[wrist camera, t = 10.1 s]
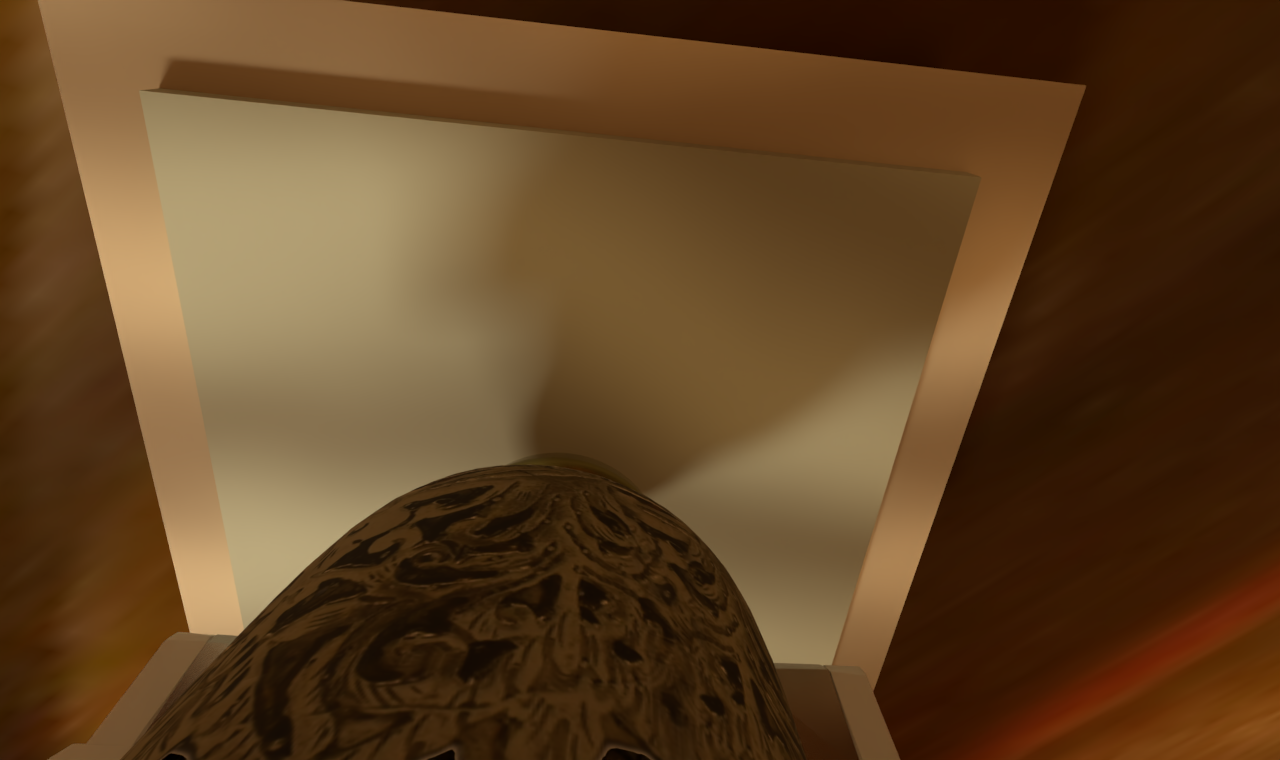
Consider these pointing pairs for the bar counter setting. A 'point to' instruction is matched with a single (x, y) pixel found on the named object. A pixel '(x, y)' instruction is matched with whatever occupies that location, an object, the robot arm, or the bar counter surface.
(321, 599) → the cup
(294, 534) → the tan square lid
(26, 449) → the bar counter surface
